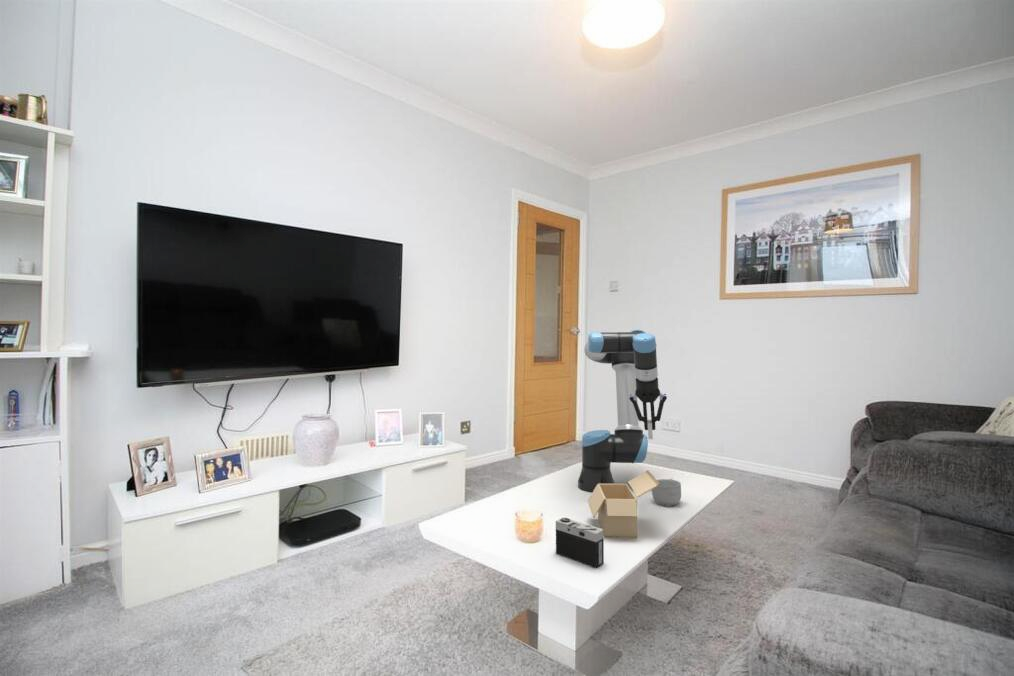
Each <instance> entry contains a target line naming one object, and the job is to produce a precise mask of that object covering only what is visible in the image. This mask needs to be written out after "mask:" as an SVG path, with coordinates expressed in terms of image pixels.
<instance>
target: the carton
mask: <svg viewBox="0 0 1014 676" xmlns="http://www.w3.org/2000/svg"><path fill="white" fill-rule="evenodd" d="M587 504H588V507H589V510H590V513H591V515H592V516H591V517H592V518H593V519H595V517H596V516H597V520H598V522H599V525H600V528H601V529H603V537H604V538H623V539H625V538H627V539H628V538H629V539H631V538H632V539H633V538H634V539H638V516H639V515H638V499H637V497H636V496H635V495H634V493H633V491H632V490H631V488H630V486H629V484H627V483H615V484H597V486H596V487H595V489H594V491H593V492H591V495H590V496H589V498H588V499H587Z"/></svg>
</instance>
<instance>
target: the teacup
mask: <svg viewBox="0 0 1014 676" xmlns="http://www.w3.org/2000/svg"><path fill="white" fill-rule="evenodd" d="M656 480H657V481H658V482H659V483H660V485H659V486H657V487H655V488H653V489H652V490H651V495H652V499H653V500H654V501H655V502H657V504H659V505H662V506H666V505H667V506H674V505H676V504H677V503H679V502H680V501H681V500H682V483H681V482H680V481H679V480H675V479H673V478H670V477H669V478H659V479H656Z"/></svg>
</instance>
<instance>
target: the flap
mask: <svg viewBox="0 0 1014 676" xmlns="http://www.w3.org/2000/svg"><path fill="white" fill-rule="evenodd" d="M627 483H628V485H629V487H631V489H632V490H633V492H634V493H635V495H636V496H637V497H638V498H640V497H641V496H643V495H644V494H646V493H648V492H650V491H652V489H653V488H655V487H657V486H659V485H660V483H659V482H658V481H657V479H656V477H655V476H654V475H653V474H652V473H651V472H650V471H649V469H648V470H646V471H644V472H642V473H640V474H639V475H637V476H636V477H634V478H631V479H630V480H629V481H627Z"/></svg>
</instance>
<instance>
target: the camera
mask: <svg viewBox="0 0 1014 676" xmlns="http://www.w3.org/2000/svg"><path fill="white" fill-rule="evenodd" d="M604 538H605V537H604V533H603V529H602V528H601V527H598V526H594V525H590V524H587V523H583V522H580V521H578V520H574V519H570V518H568V517H561V518H559V519H556V520H555V554H557V555H559V554H560V556H562V557H566V558H568V559H571V560H574V561H576V562H579V563H582V564H584V565H587V566H590V567H592V568H595V569H598V568H600V567H601V566H603V565H604V563H605V562H604V561H605V560H604V555H605V554H604V550H605V549H604V542H605V541H604Z"/></svg>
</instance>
